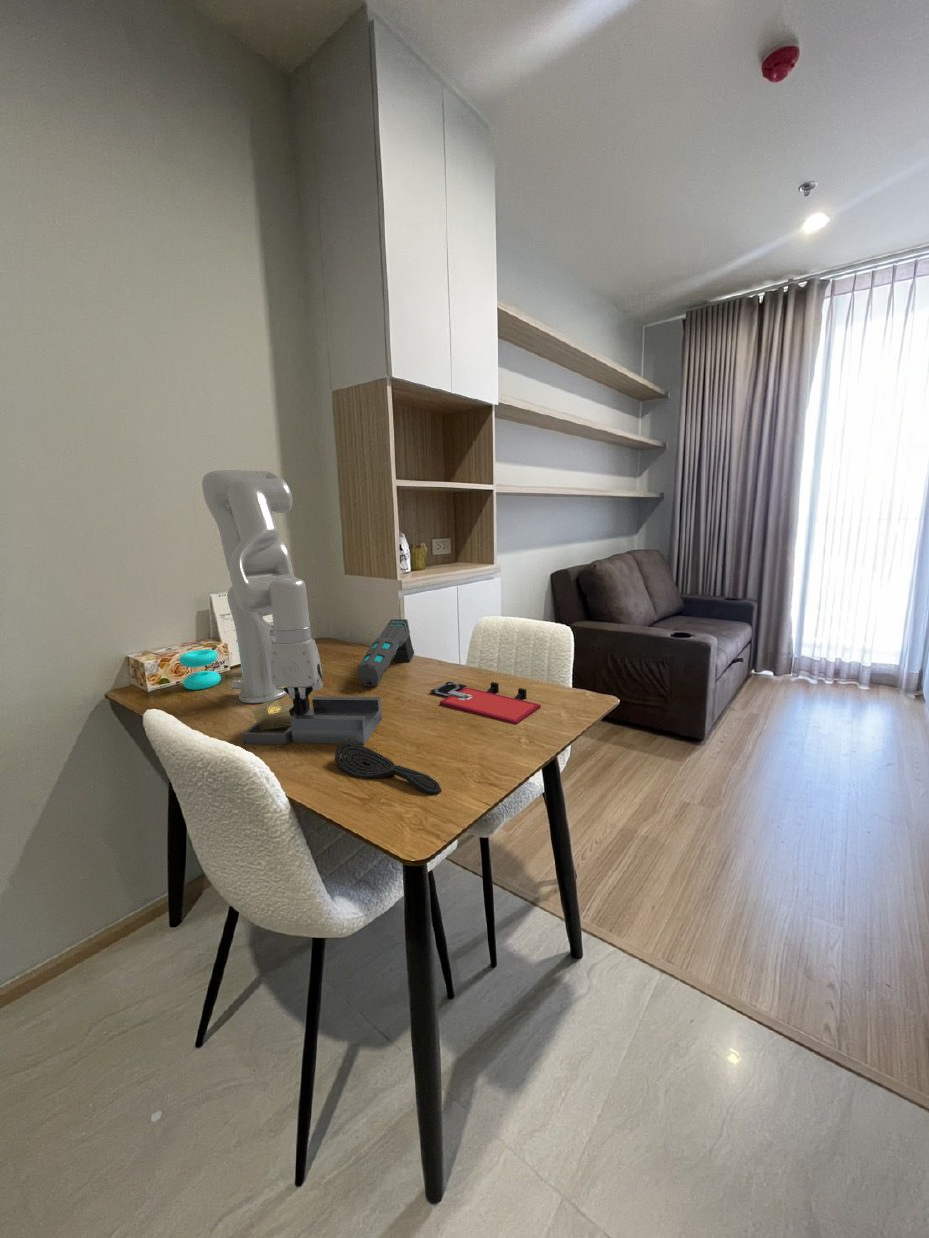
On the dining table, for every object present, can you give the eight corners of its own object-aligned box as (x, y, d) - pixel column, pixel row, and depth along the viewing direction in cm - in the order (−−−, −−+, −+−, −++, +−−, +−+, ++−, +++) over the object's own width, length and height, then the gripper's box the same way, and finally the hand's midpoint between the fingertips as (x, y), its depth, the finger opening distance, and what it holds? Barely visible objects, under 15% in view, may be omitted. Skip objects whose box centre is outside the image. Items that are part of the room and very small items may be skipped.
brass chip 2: (273, 728, 110) (268, 714, 110) (284, 719, 115) (279, 706, 115) (293, 724, 110) (288, 710, 109) (303, 715, 114) (298, 701, 114)
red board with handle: (452, 682, 140) (417, 700, 128) (452, 673, 139) (417, 690, 128) (547, 704, 122) (517, 727, 111) (547, 694, 122) (516, 716, 110)
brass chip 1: (273, 728, 110) (259, 731, 111) (284, 719, 115) (271, 721, 116) (266, 707, 110) (252, 710, 110) (277, 699, 114) (264, 702, 115)
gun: (416, 652, 166) (408, 613, 159) (386, 709, 142) (376, 667, 134) (398, 651, 168) (389, 613, 161) (365, 708, 143) (354, 666, 136)
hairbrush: (424, 792, 81) (323, 748, 95) (424, 811, 81) (325, 765, 95) (454, 770, 87) (356, 732, 101) (454, 788, 88) (357, 748, 102)
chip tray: (243, 743, 107) (241, 734, 106) (277, 715, 121) (276, 707, 121) (286, 744, 105) (285, 734, 105) (315, 716, 120) (314, 707, 119)
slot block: (292, 742, 106) (290, 718, 105) (318, 717, 119) (315, 696, 117) (364, 744, 104) (362, 719, 103) (382, 718, 116) (380, 696, 115)
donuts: (223, 650, 146) (189, 659, 138) (228, 682, 148) (194, 693, 140) (205, 646, 151) (172, 655, 143) (210, 677, 153) (177, 687, 145)
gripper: (252, 639, 105) (263, 719, 109) (318, 639, 103) (327, 720, 107) (270, 631, 112) (279, 706, 116) (332, 630, 110) (340, 707, 114)
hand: (302, 713), depth 112 cm, fingers closed
